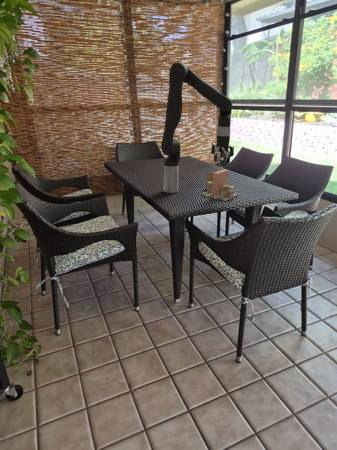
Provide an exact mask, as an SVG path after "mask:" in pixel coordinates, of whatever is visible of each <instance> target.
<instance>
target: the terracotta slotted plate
mask: <svg viewBox="0 0 337 450" xmlns="http://www.w3.org/2000/svg"><path fill="white" fill-rule="evenodd" d="M228 180H229V170H228V169H221V170H217V172H216V171H215V172H214V171H213V185H212V196H218V195H219V193H220V190H222V186H223V185H229V184H228V183H229V181H228Z"/></svg>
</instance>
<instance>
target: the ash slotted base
mask: <svg viewBox="0 0 337 450" xmlns="http://www.w3.org/2000/svg"><path fill="white" fill-rule="evenodd" d="M206 182H207V181H206ZM212 185H213V182H207V189H206V191H205V192H204V191H203V192H201V196H202V197H203V196H204V197H208V198H210V199H215V200H220V201H223V202H227V201H229V200H233V199H234V198H237V197H239V193H235V186H233V185H230V184H227V185H223V186H222V190H220V193H219V195H218V196H212Z"/></svg>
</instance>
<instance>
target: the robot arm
mask: <svg viewBox="0 0 337 450" xmlns="http://www.w3.org/2000/svg"><path fill="white" fill-rule="evenodd" d="M168 79H169V82H168V83H169V87H168V88H169V89H168V96H167V102H166V110H165V121H164V128H163V135H162V139H161V145H160V146H161V147H160V148H161V152H162V154H163V155H164V156H167V157H166V158H165V160H164V162H163V177H162V181H163V182H162V183H163V185H162V186H163V192H165V193H167V194H176V193H178V192H179V185H180V184H179V182H180V181H179V180H180V179H179V177H180V176H179V165H180V164H179V163H180V160H181V144H180V141H179V140H178V139H177V138H174V136H175V132H176V130H177V128H178V125H180V121H181V119H182V115H183V107H184V106H183V96H182V95H183V94H182V91H183V85H184V83H185V84H187V85H189V86H190V87H192V89H194V90H195V91H196V92H197V93H198V94H199V95H200V96H202V97H203V98H204V99H206V101H209V102H211V103H212V104H213V105H214V106H216V108H218V109H219V115H218V122H217V130H216V143H212V144H211V151H210V153H211V154H212V155H213V162H217V161H218V154H219V153H222V154H223V153H224V154H225V156H226V158H225V159H226V161H225V163H226V165H229V164H230V163H231V157H234V156H235V155H234V154H235V145H230V138H231V124H232V123H231V121H232V120H231V117H232V109H233V101H232V99H231V98H230V97H227V96H226V95H224V94H223V93H221V92H220V91H219V90H218V89H216V88H215V87H214V86H212V85H211V84H210V83H208V82H206V81H205V80H203V79H202V78H201V77H199V76H198V75H197V74H196V73H194V72H193V70H191V69H190V68H189V67H188V66H187V65H186V63H184V62H180V61H178V62H174V63H172V65H171V66H170V68H169V78H168Z"/></svg>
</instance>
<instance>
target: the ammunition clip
mask: <svg viewBox="0 0 337 450" xmlns="http://www.w3.org/2000/svg"><path fill="white" fill-rule="evenodd" d="M214 172H218V170H214V171H211V170H210V171H207V175H206V182H205V190H207V182H213V173H214Z"/></svg>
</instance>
